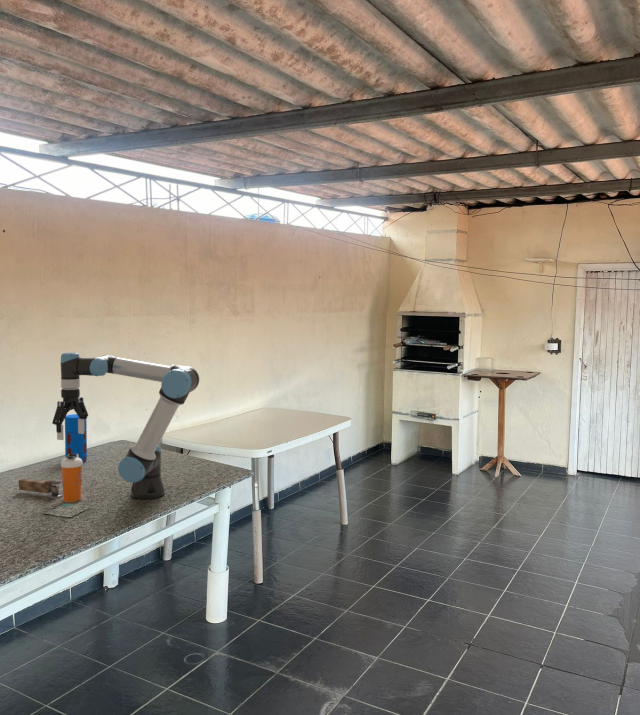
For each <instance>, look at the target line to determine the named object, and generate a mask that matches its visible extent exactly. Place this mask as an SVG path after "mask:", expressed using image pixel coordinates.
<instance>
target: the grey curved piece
mask: <svg viewBox="0 0 640 715" xmlns="http://www.w3.org/2000/svg"><path fill="white" fill-rule="evenodd" d="M59 489H60V488H59V484H52V486H51V493H49V494H48V495H47V498H48V499H50V498H51V500H53V499H54V498H57V499H59V498H60V497H61V498H62V497H63V493H60V492H59V491H60V490H59Z"/></svg>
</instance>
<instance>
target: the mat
mask: <svg viewBox="0 0 640 715" xmlns="http://www.w3.org/2000/svg"><path fill="white" fill-rule="evenodd" d="M73 505H74V506H75V505H76V504H73V503H67V502H64V503H62V504H61V505H59V506H55V508H57V507H69V506H70V507H71V506H73ZM78 505H79V506H81V505H80V504H78ZM84 506H85V505H84ZM85 507H86V506H85Z"/></svg>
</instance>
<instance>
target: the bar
mask: <svg viewBox="0 0 640 715" xmlns="http://www.w3.org/2000/svg"><path fill="white" fill-rule="evenodd" d="M61 480H62V479H60V478H59V479H58V478H55V479H53V478H52V479H51V480H50V479H48V480H45V481H44V480H36V479H30V478H29V479H28V478H20V479H18V491H24V492H25V491H26V492H33V493H41V494H48V495H50V494H52V493H51V486H52V485H59V484H61V483H62V481H61Z"/></svg>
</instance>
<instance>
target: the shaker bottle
mask: <svg viewBox="0 0 640 715" xmlns="http://www.w3.org/2000/svg"><path fill="white" fill-rule="evenodd" d="M83 464H84V463H82V460H81V459H80V458H78V454H68V456H67V457H65V458H63V459H61V461H60V468H61V478H62V479H61V480H62V481H61V483H62V492H63V493H62V497H63V502H65V501H67V502H66V503H73V502H72V501H77V500H79V501H80V499H82V482H83V481H82V478H83V477H82V476H83ZM77 502H78V501H77Z"/></svg>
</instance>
